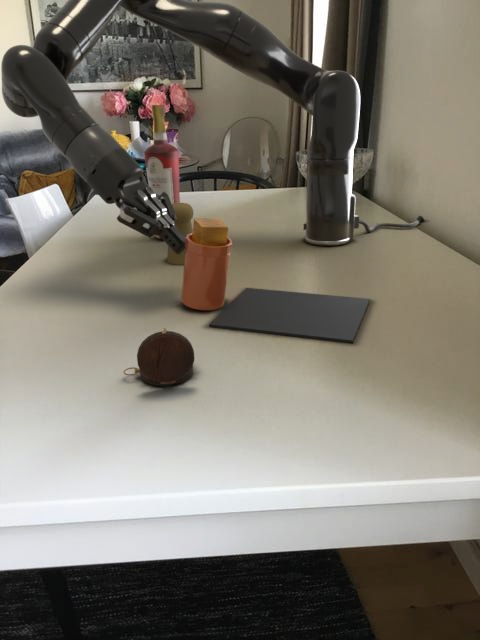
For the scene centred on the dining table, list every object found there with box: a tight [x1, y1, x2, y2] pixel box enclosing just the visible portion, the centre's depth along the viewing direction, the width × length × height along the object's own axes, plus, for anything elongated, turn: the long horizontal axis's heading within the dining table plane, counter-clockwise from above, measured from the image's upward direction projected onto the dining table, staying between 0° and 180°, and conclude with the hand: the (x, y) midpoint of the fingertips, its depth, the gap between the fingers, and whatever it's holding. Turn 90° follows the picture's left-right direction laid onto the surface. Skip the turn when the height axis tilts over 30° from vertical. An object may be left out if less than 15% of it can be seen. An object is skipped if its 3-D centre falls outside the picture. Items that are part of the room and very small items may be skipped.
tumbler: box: [180, 233, 233, 311], centre depth 85 cm, size 7×7×10 cm
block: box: [192, 218, 229, 246], centre depth 83 cm, size 4×4×4 cm
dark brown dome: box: [122, 327, 195, 386], centre depth 64 cm, size 8×8×7 cm
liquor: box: [143, 104, 181, 241], centre depth 122 cm, size 7×7×28 cm
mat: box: [208, 287, 371, 344], centre depth 83 cm, size 20×16×1 cm
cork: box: [166, 202, 194, 266], centre depth 108 cm, size 6×6×11 cm
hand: (184, 249), depth 85 cm, fingers closed
